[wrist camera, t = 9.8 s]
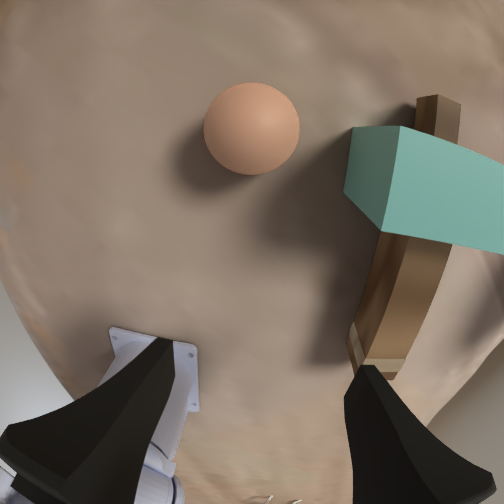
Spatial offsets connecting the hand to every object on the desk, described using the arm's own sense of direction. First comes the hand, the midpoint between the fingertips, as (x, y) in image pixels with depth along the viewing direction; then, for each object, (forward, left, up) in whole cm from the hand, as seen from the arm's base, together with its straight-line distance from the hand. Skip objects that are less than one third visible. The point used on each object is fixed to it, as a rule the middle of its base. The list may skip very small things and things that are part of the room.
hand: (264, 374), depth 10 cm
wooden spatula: (+3, -8, -9) cm, 13 cm away
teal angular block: (+7, -8, -9) cm, 14 cm away
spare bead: (+8, +2, -9) cm, 13 cm away
